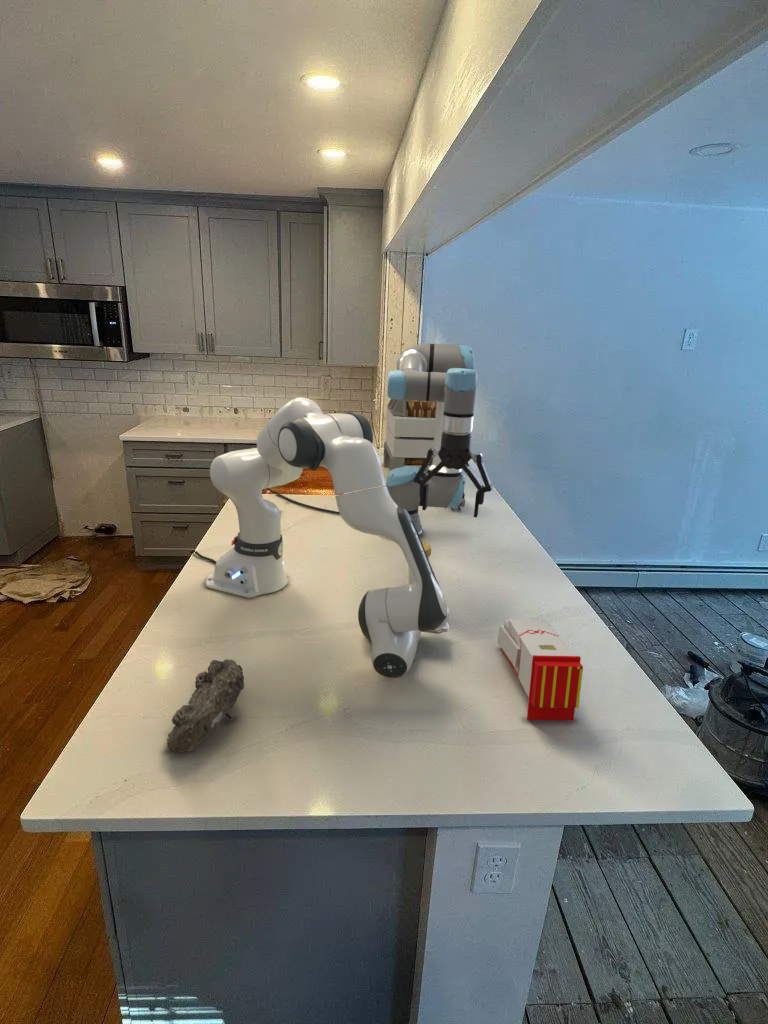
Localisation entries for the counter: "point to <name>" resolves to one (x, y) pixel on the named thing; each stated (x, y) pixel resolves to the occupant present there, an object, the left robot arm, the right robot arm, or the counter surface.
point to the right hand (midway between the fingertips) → (449, 512)
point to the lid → (427, 548)
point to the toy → (542, 668)
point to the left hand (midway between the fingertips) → (411, 598)
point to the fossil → (206, 705)
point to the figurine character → (461, 502)
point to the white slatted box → (409, 432)
